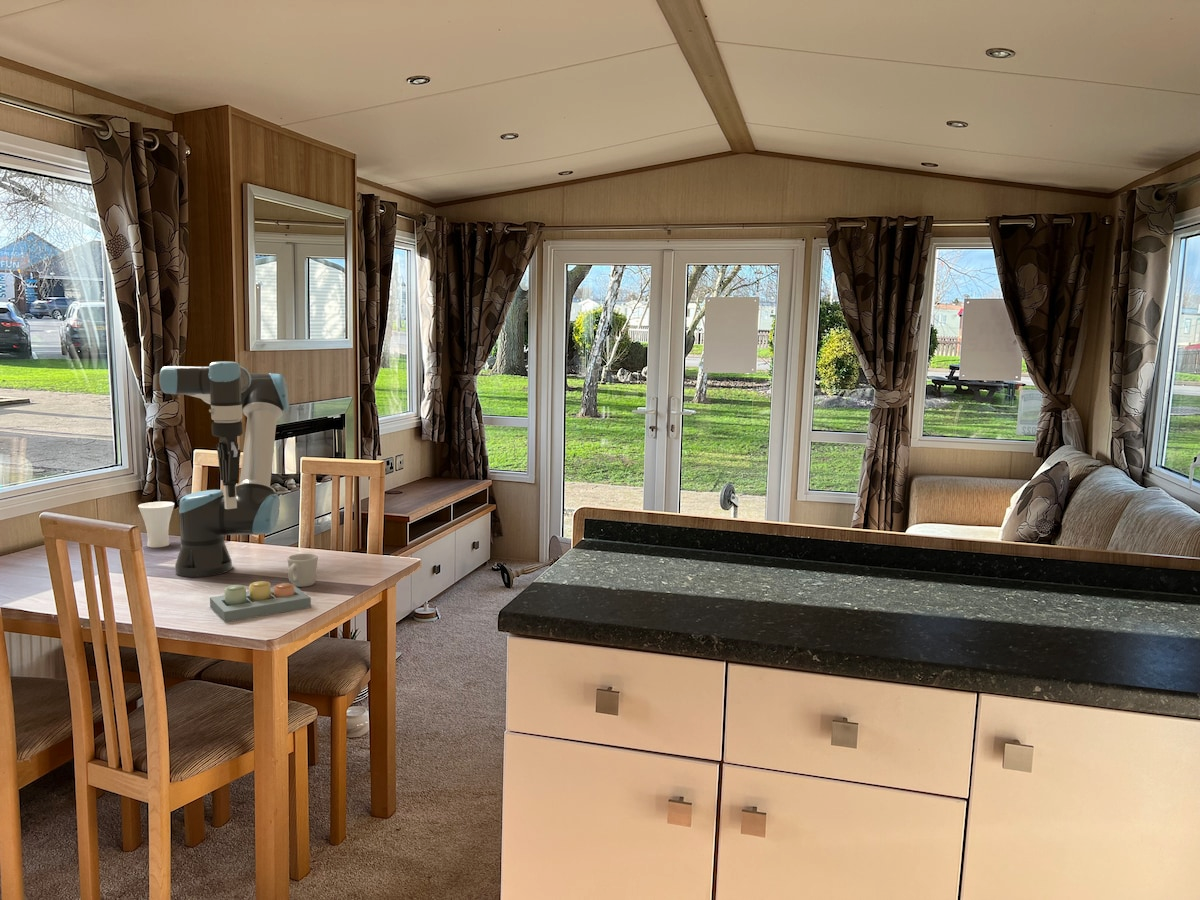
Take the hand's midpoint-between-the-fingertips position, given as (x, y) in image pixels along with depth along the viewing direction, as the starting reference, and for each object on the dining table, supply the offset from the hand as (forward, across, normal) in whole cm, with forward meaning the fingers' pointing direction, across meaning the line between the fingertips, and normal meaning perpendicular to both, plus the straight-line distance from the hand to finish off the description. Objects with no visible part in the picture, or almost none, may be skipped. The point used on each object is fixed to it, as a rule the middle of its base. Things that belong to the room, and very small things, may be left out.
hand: (230, 508), depth 233 cm
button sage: (+20, +18, -5) cm, 28 cm away
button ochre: (+20, +18, +1) cm, 27 cm away
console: (+23, +18, +1) cm, 29 cm away
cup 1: (+25, -65, -4) cm, 70 cm away
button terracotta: (+22, +19, +7) cm, 30 cm away
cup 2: (+23, +6, +16) cm, 29 cm away
